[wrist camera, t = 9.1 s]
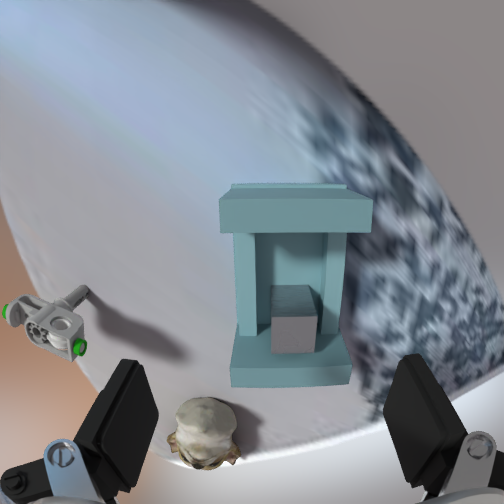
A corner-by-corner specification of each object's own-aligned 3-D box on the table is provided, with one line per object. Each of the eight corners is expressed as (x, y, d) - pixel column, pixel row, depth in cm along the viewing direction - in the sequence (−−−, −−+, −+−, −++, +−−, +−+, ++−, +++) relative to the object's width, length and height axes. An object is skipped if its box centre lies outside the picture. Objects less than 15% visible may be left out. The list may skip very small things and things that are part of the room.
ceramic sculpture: (251, 450, 26) (233, 496, 31) (256, 393, 34) (239, 450, 39) (149, 429, 26) (158, 480, 31) (170, 376, 34) (172, 437, 39)
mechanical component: (52, 268, 30) (-2, 303, 21) (122, 292, 31) (76, 341, 21) (53, 289, 31) (3, 327, 22) (121, 314, 32) (79, 366, 22)
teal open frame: (232, 183, 27) (218, 194, 19) (343, 184, 26) (373, 195, 18) (239, 337, 32) (231, 389, 24) (332, 336, 31) (348, 386, 23)
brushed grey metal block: (270, 285, 28) (271, 317, 22) (308, 284, 28) (317, 316, 22) (270, 317, 29) (271, 353, 24) (306, 317, 29) (314, 352, 23)
